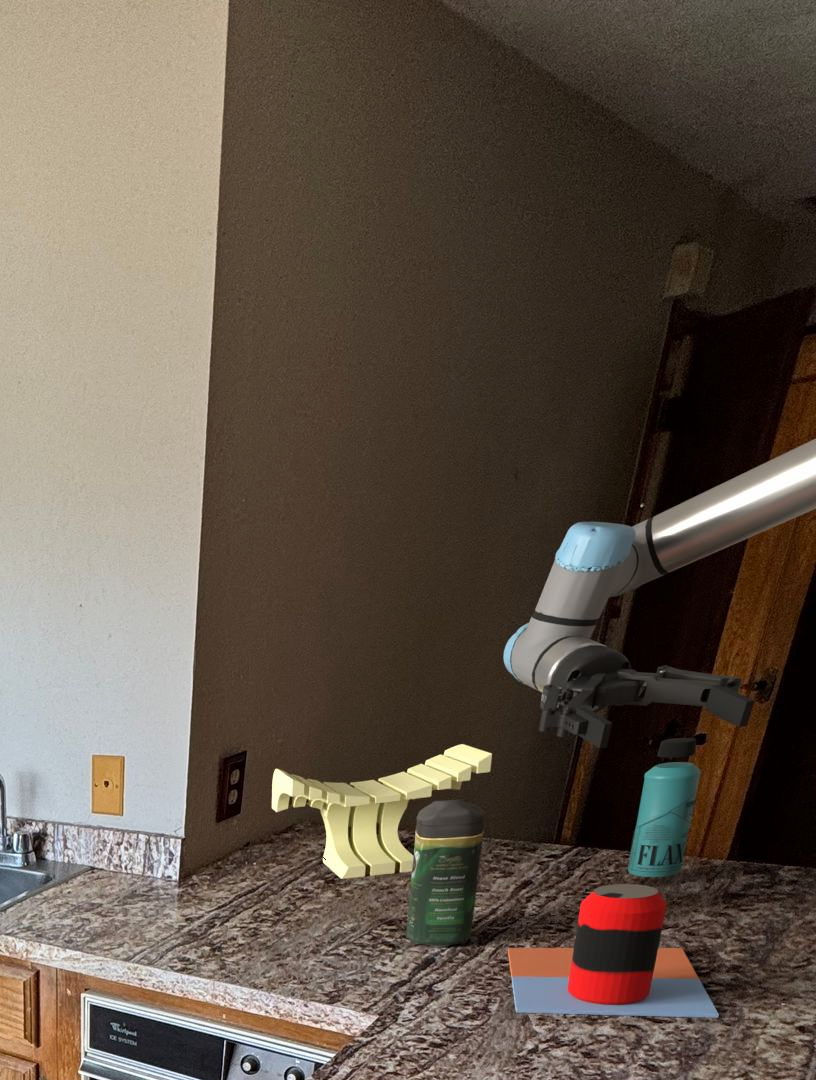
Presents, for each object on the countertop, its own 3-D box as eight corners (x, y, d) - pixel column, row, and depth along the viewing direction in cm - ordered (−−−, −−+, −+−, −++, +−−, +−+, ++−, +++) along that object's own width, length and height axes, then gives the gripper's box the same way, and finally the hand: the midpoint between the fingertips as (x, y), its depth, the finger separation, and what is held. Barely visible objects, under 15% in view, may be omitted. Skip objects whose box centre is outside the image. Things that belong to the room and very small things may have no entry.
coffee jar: (474, 948, 133) (490, 807, 125) (407, 949, 136) (419, 812, 128) (467, 926, 141) (482, 792, 133) (404, 928, 144) (415, 798, 136)
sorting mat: (681, 950, 122) (682, 947, 121) (718, 1018, 105) (719, 1014, 105) (507, 950, 130) (508, 947, 130) (515, 1012, 113) (516, 1009, 113)
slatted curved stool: (445, 843, 180) (455, 741, 172) (479, 864, 166) (492, 753, 158) (270, 863, 186) (272, 765, 179) (289, 884, 172) (292, 779, 165)
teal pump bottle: (623, 887, 145) (649, 745, 136) (624, 875, 150) (648, 737, 141) (681, 887, 141) (710, 741, 133) (680, 875, 146) (708, 733, 137)
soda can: (551, 995, 115) (566, 894, 110) (594, 977, 118) (611, 878, 113) (620, 1011, 109) (640, 904, 104) (664, 992, 111) (686, 888, 106)
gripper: (686, 688, 125) (795, 739, 108) (470, 723, 130) (542, 777, 113) (703, 624, 121) (820, 668, 104) (479, 663, 126) (556, 710, 109)
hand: (675, 725), depth 109 cm, fingers open, 13 cm apart
